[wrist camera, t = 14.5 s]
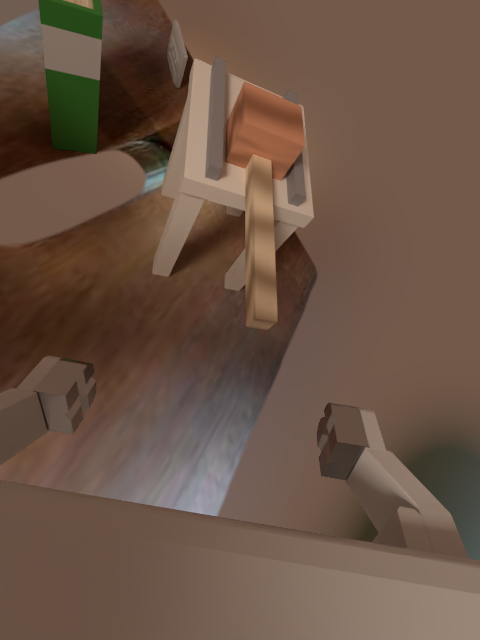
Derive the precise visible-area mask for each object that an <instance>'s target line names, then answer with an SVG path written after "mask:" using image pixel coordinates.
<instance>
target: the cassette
mask: <svg viewBox="0 0 480 640" xmlns="http://www.w3.org/2000/svg"><path fill="white" fill-rule="evenodd" d="M167 54H168V57H167V60H168V64H169V68H170V72H171V76H172V80H173V83H175V86H176V88H179V89H180V86H181V82H182V78H183V74H184V70H185V66H186V62H187V59H188V56H187V52H186V48H185V45H184V41H183V38H182V34H181V30H180V27H179V23H178V20H175V19H174V21H173V26H172V31H171V36H170V41H169V46H168V51H167Z"/></svg>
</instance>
